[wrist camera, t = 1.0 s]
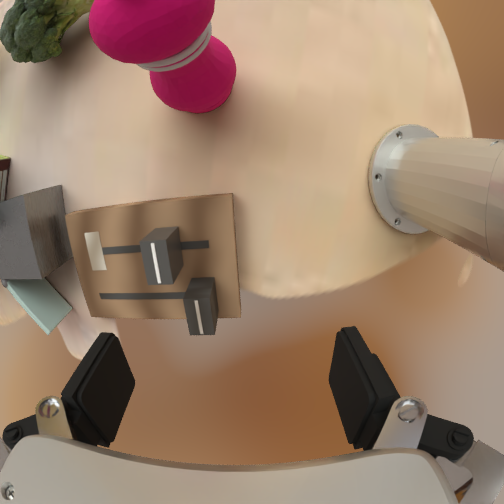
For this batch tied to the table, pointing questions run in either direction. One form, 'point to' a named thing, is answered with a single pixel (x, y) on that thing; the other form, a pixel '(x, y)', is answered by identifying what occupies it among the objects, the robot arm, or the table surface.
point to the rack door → (39, 301)
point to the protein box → (3, 176)
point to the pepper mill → (168, 48)
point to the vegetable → (39, 27)
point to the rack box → (33, 235)
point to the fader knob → (162, 255)
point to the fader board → (132, 268)
